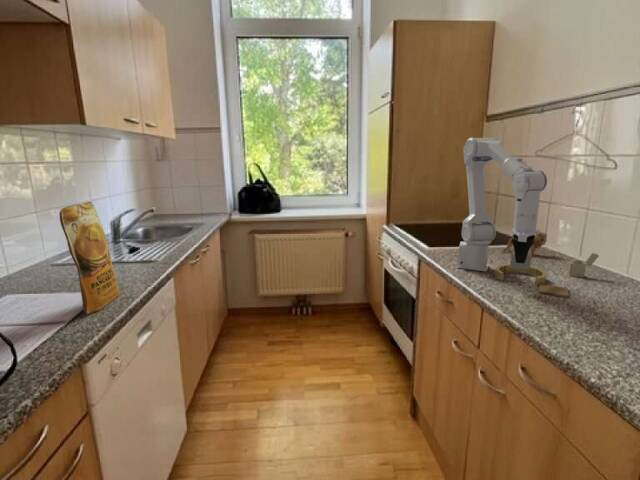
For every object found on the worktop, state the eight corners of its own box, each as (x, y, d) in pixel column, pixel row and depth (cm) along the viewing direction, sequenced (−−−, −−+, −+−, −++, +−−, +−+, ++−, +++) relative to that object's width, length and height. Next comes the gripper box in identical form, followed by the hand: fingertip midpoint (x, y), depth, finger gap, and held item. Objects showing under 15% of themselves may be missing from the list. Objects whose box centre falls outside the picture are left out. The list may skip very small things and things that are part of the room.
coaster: (539, 293, 104) (539, 291, 104) (539, 285, 110) (539, 284, 110) (568, 297, 101) (568, 295, 101) (567, 289, 107) (567, 287, 107)
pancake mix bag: (66, 318, 93) (46, 209, 87) (105, 291, 112) (91, 199, 106) (93, 317, 94) (75, 208, 87) (128, 290, 112) (114, 199, 106)
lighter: (569, 275, 119) (572, 252, 117) (567, 274, 120) (571, 250, 119) (595, 278, 116) (599, 253, 114) (593, 276, 118) (597, 252, 116)
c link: (509, 267, 107) (511, 254, 106) (511, 264, 110) (512, 251, 109) (529, 270, 104) (531, 256, 103) (530, 266, 107) (531, 253, 106)
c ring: (493, 279, 116) (494, 272, 116) (498, 267, 129) (499, 260, 128) (545, 287, 109) (546, 279, 109) (545, 273, 122) (546, 265, 121)
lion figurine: (543, 253, 145) (546, 231, 143) (546, 257, 140) (549, 234, 138) (502, 250, 150) (504, 229, 148) (503, 254, 145) (505, 231, 143)
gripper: (542, 219, 95) (535, 269, 99) (542, 211, 107) (536, 256, 111) (511, 217, 99) (506, 265, 102) (515, 210, 111) (510, 253, 114)
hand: (520, 260), depth 107 cm, fingers closed on c link, 4 cm apart
